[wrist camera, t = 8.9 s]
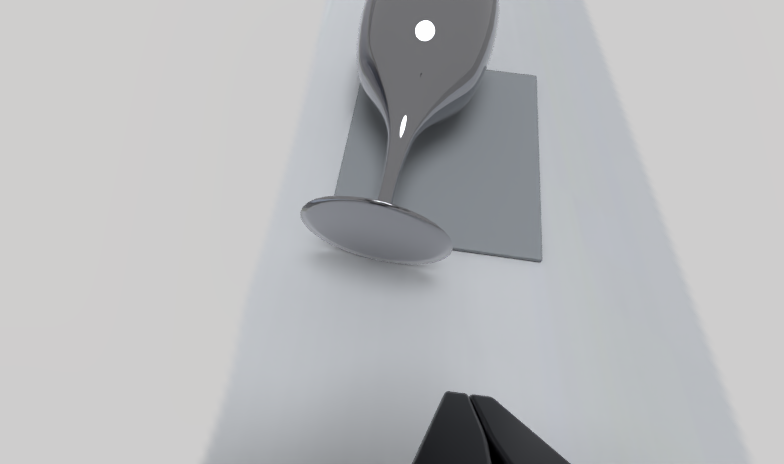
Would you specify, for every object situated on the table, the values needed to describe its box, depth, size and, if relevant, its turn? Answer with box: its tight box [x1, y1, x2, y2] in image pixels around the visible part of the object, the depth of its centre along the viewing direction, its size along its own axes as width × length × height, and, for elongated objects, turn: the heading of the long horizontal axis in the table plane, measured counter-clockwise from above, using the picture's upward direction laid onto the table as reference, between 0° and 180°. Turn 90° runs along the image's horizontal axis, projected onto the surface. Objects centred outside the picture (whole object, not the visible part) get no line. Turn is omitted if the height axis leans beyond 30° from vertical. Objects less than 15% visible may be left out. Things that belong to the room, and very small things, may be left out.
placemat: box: [334, 70, 542, 262], centre depth 25 cm, size 14×12×1 cm
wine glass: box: [301, 0, 499, 264], centre depth 21 cm, size 8×8×15 cm
